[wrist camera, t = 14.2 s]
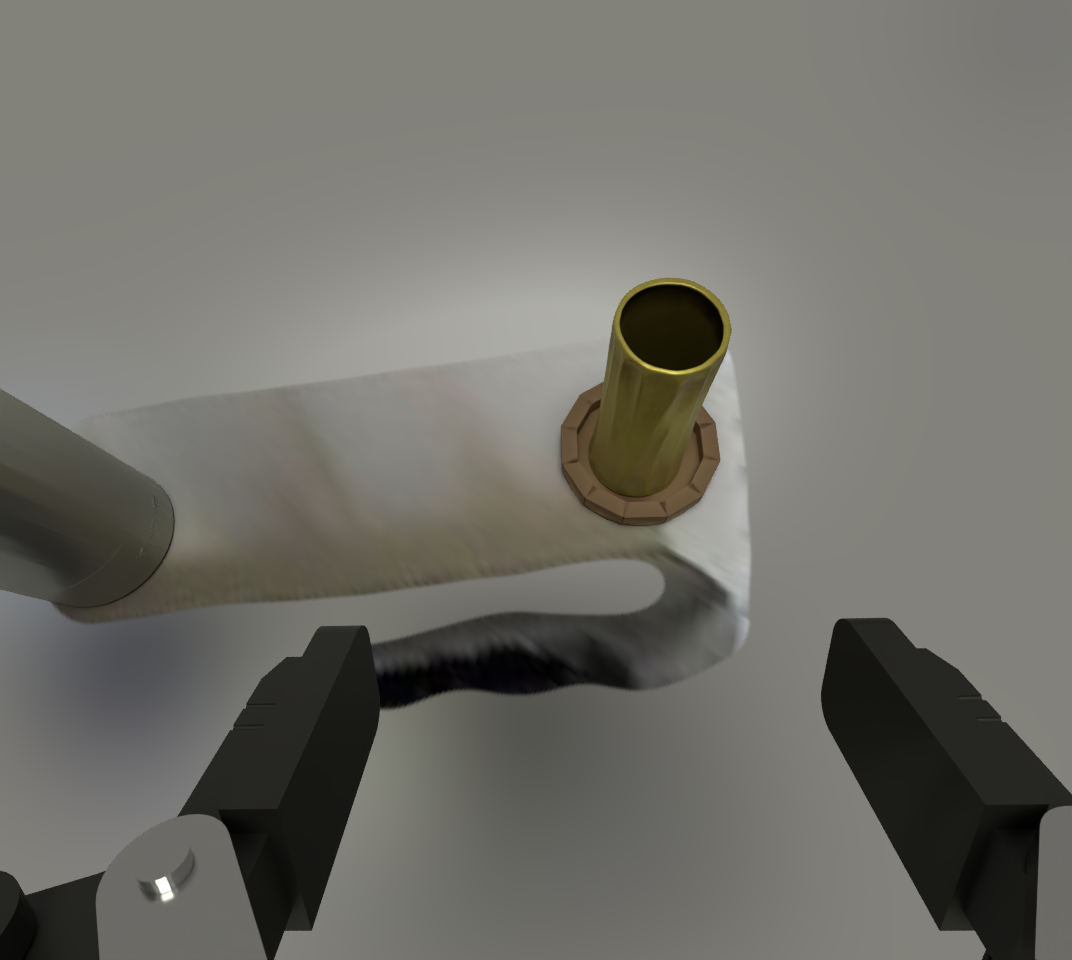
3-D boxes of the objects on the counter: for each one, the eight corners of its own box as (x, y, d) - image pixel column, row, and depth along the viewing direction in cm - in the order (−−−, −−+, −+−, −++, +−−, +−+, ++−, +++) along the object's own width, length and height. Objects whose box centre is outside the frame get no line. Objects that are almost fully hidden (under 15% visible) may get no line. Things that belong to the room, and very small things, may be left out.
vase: (634, 516, 39) (675, 410, 26) (568, 451, 41) (574, 320, 27) (700, 457, 40) (771, 326, 27) (633, 396, 42) (669, 246, 29)
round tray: (563, 527, 39) (563, 518, 38) (559, 390, 43) (559, 377, 41) (720, 524, 39) (727, 515, 37) (702, 387, 43) (708, 373, 41)
